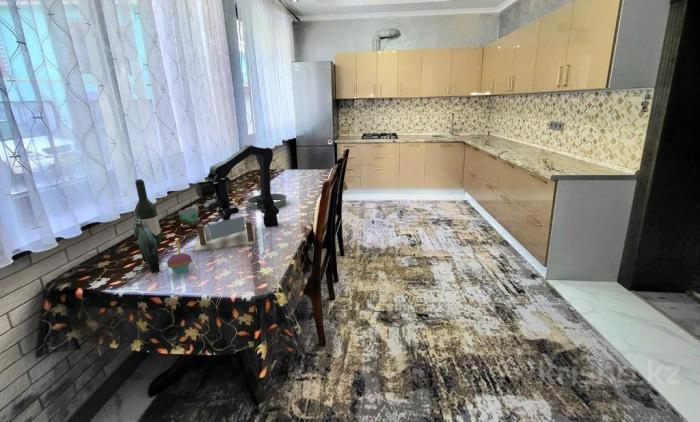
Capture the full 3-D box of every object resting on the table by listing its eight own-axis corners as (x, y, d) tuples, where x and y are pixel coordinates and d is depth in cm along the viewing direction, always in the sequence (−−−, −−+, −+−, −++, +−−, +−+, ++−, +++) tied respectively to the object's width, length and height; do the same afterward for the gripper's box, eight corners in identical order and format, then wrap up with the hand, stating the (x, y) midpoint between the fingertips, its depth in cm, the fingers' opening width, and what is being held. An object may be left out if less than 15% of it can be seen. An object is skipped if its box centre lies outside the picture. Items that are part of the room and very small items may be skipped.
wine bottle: (166, 239, 169) (153, 177, 160) (152, 246, 161) (137, 181, 153) (153, 238, 172) (140, 177, 163) (138, 244, 164) (123, 181, 155)
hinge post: (206, 243, 160) (202, 224, 157) (205, 244, 158) (202, 225, 155) (201, 243, 159) (198, 224, 157) (200, 245, 157) (197, 226, 155)
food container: (191, 229, 182) (188, 210, 179) (181, 229, 183) (177, 210, 180) (205, 221, 194) (202, 204, 191) (195, 221, 195) (192, 204, 192)
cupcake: (174, 267, 138) (168, 239, 135) (196, 266, 139) (191, 237, 135) (165, 277, 130) (159, 247, 127) (189, 276, 131) (183, 245, 127)
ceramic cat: (139, 259, 148) (128, 213, 142) (156, 255, 151) (146, 210, 146) (147, 275, 132) (136, 225, 127) (166, 270, 136) (156, 221, 130)
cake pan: (244, 203, 228) (243, 196, 227) (281, 198, 238) (281, 191, 236) (251, 213, 207) (250, 205, 205) (292, 206, 216) (291, 199, 215)
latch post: (254, 238, 162) (251, 219, 160) (253, 240, 160) (251, 221, 157) (248, 239, 162) (245, 220, 159) (248, 241, 159) (245, 222, 157)
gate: (207, 241, 157) (205, 226, 155) (205, 240, 159) (203, 225, 157) (245, 230, 169) (243, 216, 167) (243, 229, 171) (241, 215, 169)
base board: (255, 227, 181) (255, 225, 180) (255, 244, 158) (255, 242, 158) (201, 233, 175) (201, 232, 174) (193, 252, 152) (192, 250, 152)
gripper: (196, 192, 163) (201, 224, 167) (212, 200, 149) (217, 234, 154) (219, 188, 170) (224, 218, 175) (237, 194, 156) (241, 228, 161)
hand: (226, 224), depth 166 cm, fingers closed
